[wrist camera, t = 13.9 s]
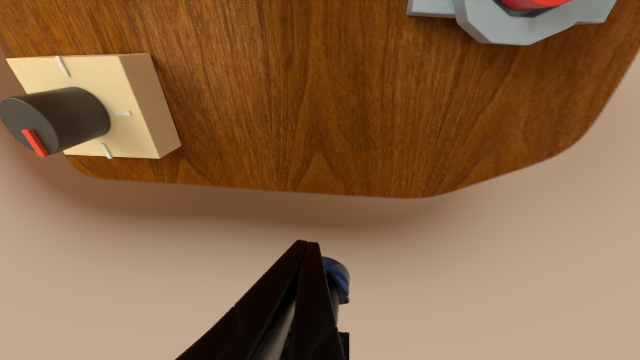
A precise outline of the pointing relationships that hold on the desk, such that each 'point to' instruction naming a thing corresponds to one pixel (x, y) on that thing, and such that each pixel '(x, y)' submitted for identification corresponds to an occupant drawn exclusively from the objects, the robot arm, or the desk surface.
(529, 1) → the red push button
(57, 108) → the dial knob
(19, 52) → the desk surface
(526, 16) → the button box
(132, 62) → the dial panel
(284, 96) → the desk surface
